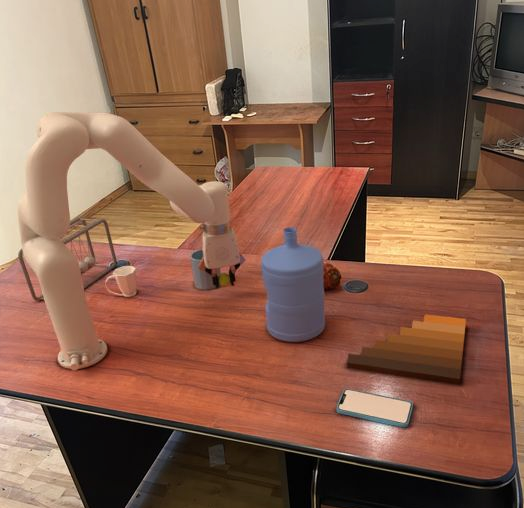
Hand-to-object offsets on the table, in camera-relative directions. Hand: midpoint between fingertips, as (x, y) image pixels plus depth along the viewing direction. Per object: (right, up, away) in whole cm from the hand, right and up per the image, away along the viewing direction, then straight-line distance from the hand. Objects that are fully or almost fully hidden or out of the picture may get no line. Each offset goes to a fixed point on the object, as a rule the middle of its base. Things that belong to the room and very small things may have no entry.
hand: (224, 284), depth 161 cm
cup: (-32, -3, +9) cm, 33 cm away
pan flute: (+47, -17, -27) cm, 57 cm away
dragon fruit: (+29, -1, +2) cm, 29 cm away
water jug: (+20, -12, -15) cm, 28 cm away
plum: (0, 0, 0) cm, 0 cm away
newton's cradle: (-50, +1, +19) cm, 53 cm away
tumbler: (-6, +1, +11) cm, 12 cm away
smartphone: (+35, -29, -45) cm, 64 cm away
